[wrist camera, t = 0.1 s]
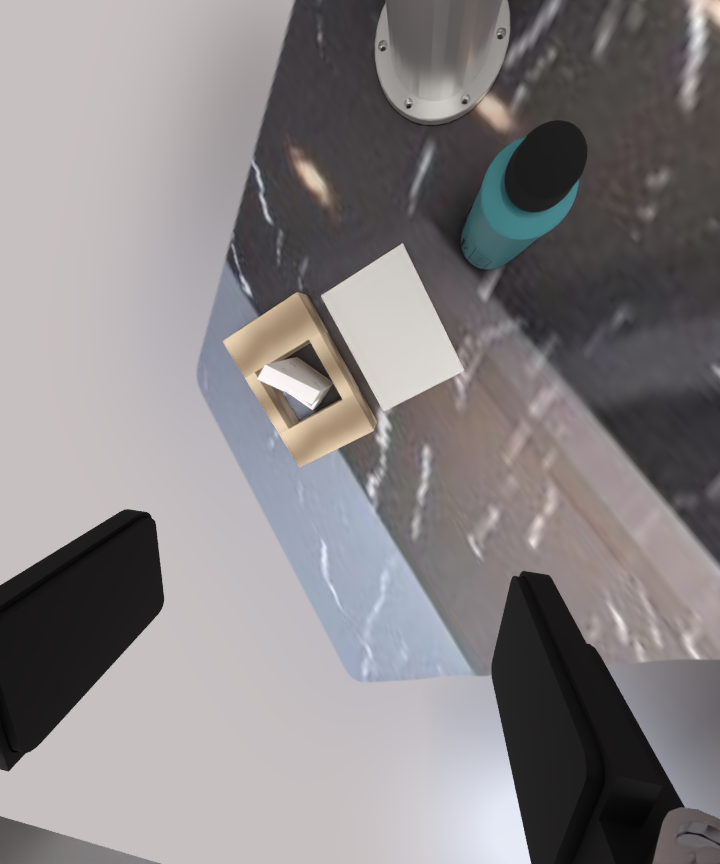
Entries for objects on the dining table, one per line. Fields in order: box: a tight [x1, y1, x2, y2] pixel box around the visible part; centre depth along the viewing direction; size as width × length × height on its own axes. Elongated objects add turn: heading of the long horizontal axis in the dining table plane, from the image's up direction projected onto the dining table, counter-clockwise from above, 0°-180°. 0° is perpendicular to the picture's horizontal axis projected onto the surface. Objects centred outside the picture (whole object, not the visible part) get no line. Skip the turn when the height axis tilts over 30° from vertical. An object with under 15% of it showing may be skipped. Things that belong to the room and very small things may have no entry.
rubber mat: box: [321, 243, 464, 411], centre depth 42 cm, size 16×11×1 cm
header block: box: [223, 292, 377, 467], centre depth 44 cm, size 18×11×4 cm, turn 29°
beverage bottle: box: [460, 120, 587, 270], centre depth 29 cm, size 6×7×20 cm
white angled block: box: [257, 357, 333, 410], centre depth 43 cm, size 4×10×9 cm, turn 56°
